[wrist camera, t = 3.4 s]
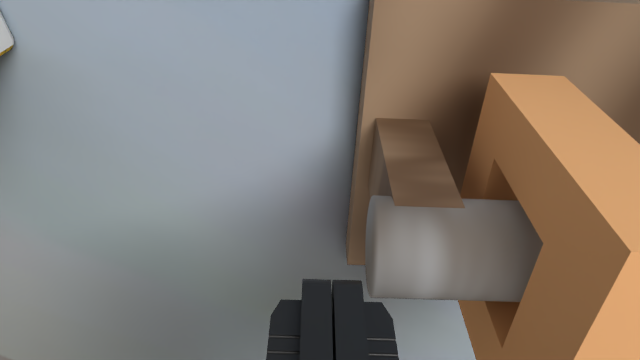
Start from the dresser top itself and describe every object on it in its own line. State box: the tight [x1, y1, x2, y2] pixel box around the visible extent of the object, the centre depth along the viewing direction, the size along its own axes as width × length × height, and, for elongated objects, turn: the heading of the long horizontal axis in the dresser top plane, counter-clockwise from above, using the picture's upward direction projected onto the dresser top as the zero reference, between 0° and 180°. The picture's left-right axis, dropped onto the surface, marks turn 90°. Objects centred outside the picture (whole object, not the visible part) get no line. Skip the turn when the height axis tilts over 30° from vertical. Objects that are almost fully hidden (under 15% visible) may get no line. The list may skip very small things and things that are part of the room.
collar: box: [458, 73, 640, 360], centre depth 14 cm, size 2×8×8 cm, turn 178°
